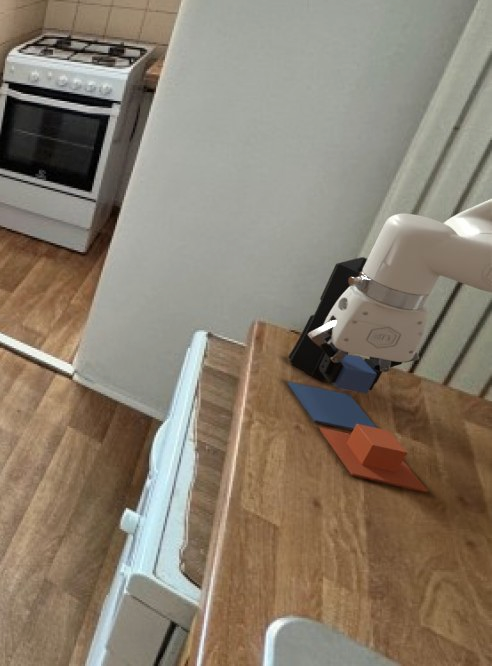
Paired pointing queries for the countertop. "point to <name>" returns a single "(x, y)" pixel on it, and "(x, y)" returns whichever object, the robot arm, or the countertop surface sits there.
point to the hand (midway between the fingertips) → (344, 379)
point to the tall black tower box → (324, 317)
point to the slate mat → (330, 407)
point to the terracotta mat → (400, 478)
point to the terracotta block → (376, 448)
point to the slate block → (355, 375)
